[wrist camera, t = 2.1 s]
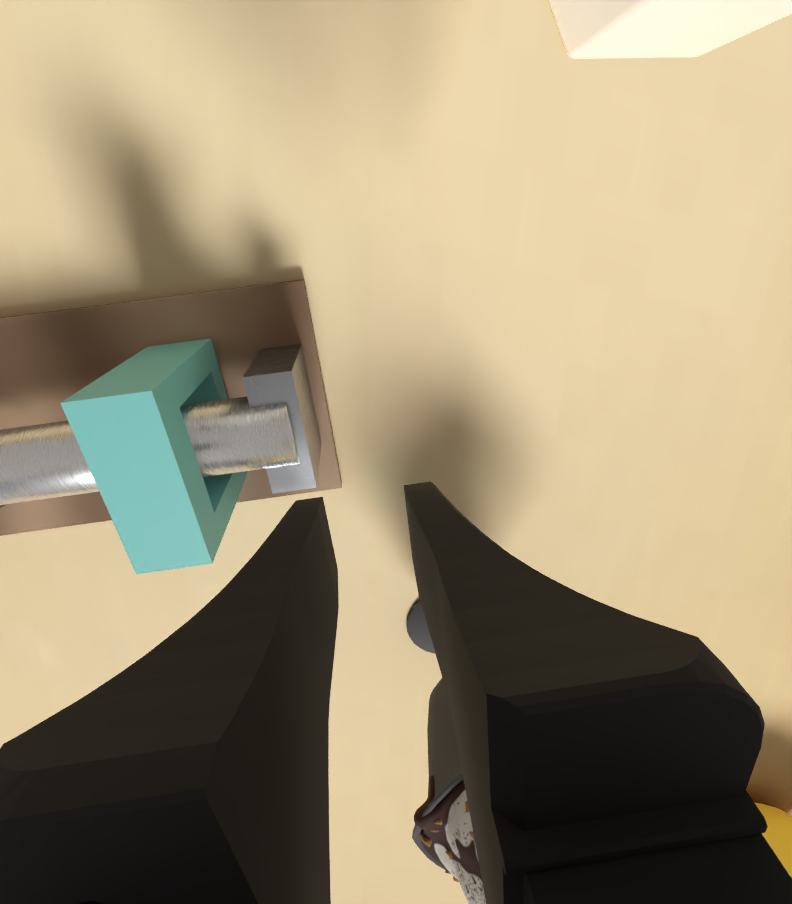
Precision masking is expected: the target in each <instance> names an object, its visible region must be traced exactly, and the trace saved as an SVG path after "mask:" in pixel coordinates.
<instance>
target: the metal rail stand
mask: <svg viewBox="0 0 792 904" xmlns="http://www.w3.org/2000/svg"><path fill="white" fill-rule="evenodd" d="M242 378H243V382H244V386H245V390H246V394H247V396H246V397H239V398H231V399H224V400H217V401H209V402H202V403H194V404H187V405H181V406H180V410H181V413H182V416H183V419H184V422H185V425H186V428H187V431H188V434H189V437H190V440H191V443H192V446H193V449H194V452H195V455H196V458H197V462H198V465H199V468H200V471H201V474H202V477H207V476H215V475H222V474H229V473H236V472H243V471H251V470H258V469H265V468H266V470H267V474H268V478H269V482H270V486H271V490H272V493H273V494H274V493H281V492H288V491H295V490H303V489H310V488H316V487H317V479H318V470H319V462H320V454H321V445H322V443H321V438H320V433H319V428H318V423H317V418H316V413H315V408H314V403H313V397H312V392H311V387H310V382H309V377H308V372H307V367H306V362H305V357H304V352H303V347H302V344H294V345H286V346H279V347H271V348H263V349H261V350H260V351H259V353H258V354H257V356H256V357H255V359H254V360H253V362H252V363H251V365H250V366H249V368H248V370H247V371H246V373H245V374H244V376H243V377H242ZM92 492H99V489H98V487H97V485H96V482H95V480H94V478H93V476H92V473H91V471H90V469H89V467H88V464H87V462H86V460H85V458H84V455H83V453H82V451H81V449H80V446H79V444H78V442H77V440H76V437H75V435H74V433H73V431H72V428H71V426H70V424H69V422H68V420H67V421H60V422H52V423H45V424H37V425H30V426H22V427H15V428H7V429H0V508H2V507H3V506H5V505H6V504H12V503H20V502H27V501H34V500H41V499H49V498H56V497H63V496H70V495H77V494H85V493H92Z"/></svg>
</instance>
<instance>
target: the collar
mask: <svg viewBox="0 0 792 904" xmlns="http://www.w3.org/2000/svg"><path fill="white" fill-rule="evenodd" d="M224 399H228V397H227V394H226V390H225V387H224V383H223V380H222V376H221V372H220V369H219V365H218V362H217V358H216V354H215V351H214V347H213V344H212V340H211V338H210V339H203V340H195V341H187V342H180V343H172V344H164V345H157V346H149V347H146V348H145V349H143V350H142V351H140V352H138V353H137V354H135V355H134V356H132V357H131V358H129V359H128V360H126V361H124V362H123V363H121V364H120V365H118V366H117V367H115V368H114V369H112V370H110V371H109V372H107V373H106V374H104V375H103V376H101V377H100V378H98V379H97V380H95V381H93V382H92V383H90V384H89V385H87V386H86V387H84V388H83V389H81V390H79V391H78V392H76V393H75V394H73V395H72V396H70V397H69V398H67V399H65V400H64V401H62V402H61V403H60V404H61V406H62V408H63V410H64V413H65V415H66V417H67V419H68V422H69V424H70V426H71V428H72V431H73V433H74V435H75V437H76V440H77V442H78V444H79V446H80V449H81V451H82V453H83V455H84V458H85V460H86V462H87V464H88V467H89V469H90V471H91V473H92V476H93V478H94V480H95V482H96V485H97V487H98V489H99V491H100V494H101V496H102V498H103V500H104V503H105V505H106V507H107V509H108V512H109V514H110V516H111V518H112V521H113V523H114V525H115V527H116V530H117V532H118V534H119V536H120V539H121V541H122V543H123V545H124V548H125V550H126V552H127V554H128V557H129V559H130V561H131V563H132V566H133V568H134V570H135V572H136V574H141V573H148V572H155V571H162V570H169V569H176V568H183V567H190V566H197V565H204V564H211V563H213V560H214V557H215V555H216V552H217V550H218V547H219V545H220V542H221V540H222V537H223V535H224V532H225V530H226V527H227V524H228V522H229V519H230V517H231V514H232V512H233V509H234V507H235V504H236V502H237V499H238V497H239V494H240V491H241V489H242V486H243V484H244V481H245V479H246V476H247V474H248V471H243V472H236V473H229V474H222V475H215V476H207V477H202V474H201V471H200V468H199V465H198V462H197V458H196V455H195V452H194V449H193V446H192V443H191V440H190V437H189V434H188V431H187V428H186V425H185V422H184V419H183V416H182V413H181V410H180V406H181V405H187V404H194V403H202V402H209V401H217V400H224Z"/></svg>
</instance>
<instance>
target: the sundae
mask: <svg viewBox="0 0 792 904" xmlns="http://www.w3.org/2000/svg"><path fill="white" fill-rule="evenodd" d="M407 632H408V634H409V636H410V638H411V639H412V641H413V642H414V644H416V645H417V646H418V647H420V648H421V649H423V650H425V651H427V652H431V653H435V649H434V646H433V643H432V639H431V636H430V632H429V629H428V625H427V622H426V618H425V615H424V611H423V608H422V604H421V601H418V602H417V603H416V604H415V605H414V607H413V608H412V610H411V612H410V614H409V616H408V618H407ZM435 654H436V653H435ZM428 763H429V787H428V798H427V800H426V801H425V803H424V804H423V805H422V806H421V807H419V808H418V809H417V811H416V812H415V815H414V821H415V827H414V830H413V835H412V838H413V840H414V842H415V843H416V844H417V846H418V847H419V848H420V850H421V851H422V852H423V853H424V854H425V855H426V856H427V857H428V858H429V859H430V860H431V861H433V862H434V863H435V864H436V865H438V866H440V867H441V868H443V869H445V870H446V871H445V872H446V873H449V874H452V875H453V879H454V881H457V882H460V885H461V888H462V890H463V892H464V894H465V896H466V898H467V900H468V902H469V904H486V900H485V894H484V889H483V883H482V878H481V872H480V866H479V861H478V856H477V850H476V845H475V839H474V834H473V828H472V823H471V817H470V812H469V806H468V801H467V796H466V790H465V785H464V780H463V774H462V769H461V764H460V758H459V753H458V748H457V742H456V737H455V732H454V727H453V721H452V716H451V711H450V706H449V701H448V697H447V693H446V689H445V684H444V680H443V678H442V679H441V680H440V681H439V683H438V684H437V685H436V687H435V688H434V689H433V691H432V693H431V695H430V700H429V714H428Z"/></svg>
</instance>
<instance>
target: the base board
mask: <svg viewBox="0 0 792 904" xmlns="http://www.w3.org/2000/svg"><path fill="white" fill-rule="evenodd" d="M210 338H211V340H212V344H213V347H214V351H215V354H216V358H217V362H218V365H219V369H220V372H221V376H222V380H223V383H224V387H225V390H226V394H227V397H228V399H231V398H239V397H246V396H247V394H246V390H245V386H244V382H243V378H242V377H243V376H244V374H245V373H246V371H247V370H248V368H249V366H250V365H251V363H252V362H253V360H254V359H255V357H256V356H257V354H258V353H259V351H260V350H261V349H263V348H271V347H279V346H286V345H294V344H302V347H303V352H304V357H305V362H306V367H307V372H308V377H309V382H310V387H311V392H312V397H313V403H314V408H315V413H316V418H317V423H318V428H319V433H320V438H321V443H322V445H321V454H320V462H319V470H318V479H317V487H316V488H310V489H303V490H295V491H288V492H281V493H274V494H273V493H272V490H271V486H270V482H269V478H268V474H267V470H266V468H265V469H258V470H251V471H248V474H247V476H246V479H245V481H244V484H243V486H242V489H241V491H240V494H239V497H238V499H237V502H243V501H250V500H257V499H265V498H272V497H279V496H286V495H293V494H300V493H307V492H314V491H322V490H329V489H336V488H342V482H341V477H340V472H339V466H338V461H337V455H336V450H335V445H334V439H333V434H332V428H331V423H330V418H329V412H328V407H327V401H326V396H325V390H324V385H323V380H322V374H321V369H320V363H319V358H318V353H317V347H316V342H315V336H314V331H313V326H312V320H311V315H310V309H309V304H308V299H307V293H306V288H305V282H304V280H296V281H288V282H281V283H273V284H265V285H257V286H249V287H241V288H233V289H225V290H218V291H210V292H202V293H194V294H186V295H178V296H170V297H162V298H155V299H147V300H139V301H131V302H123V303H115V304H107V305H100V306H92V307H84V308H76V309H68V310H60V311H52V312H44V313H37V314H29V315H21V316H13V317H5V318H0V429H7V428H15V427H22V426H30V425H37V424H45V423H52V422H60V421H67V420H68V419H67V417H66V415H65V413H64V410H63V408H62V406H61V404H60V403H61V402H62V401H64V400H65V399H67V398H69V397H70V396H72V395H73V394H75V393H76V392H78V391H79V390H81V389H83V388H84V387H86V386H87V385H89V384H90V383H92V382H93V381H95V380H97V379H98V378H100V377H101V376H103V375H104V374H106V373H107V372H109V371H110V370H112V369H114V368H115V367H117V366H118V365H120V364H121V363H123V362H124V361H126V360H128V359H129V358H131V357H132V356H134V355H135V354H137V353H138V352H140V351H142V350H143V349H145V348H146V347H149V346H157V345H164V344H172V343H180V342H187V341H195V340H203V339H210ZM108 520H112V518H111V516H110V514H109V512H108V509H107V507H106V505H105V503H104V500H103V498H102V496H101V494H100V491H99V492H92V493H85V494H77V495H70V496H63V497H56V498H49V499H41V500H34V501H27V502H20V503H12V504H6V505H5V506H3V507H2V508H0V536H1V535H8V534H15V533H22V532H30V531H37V530H44V529H51V528H58V527H65V526H72V525H79V524H87V523H94V522H101V521H108Z"/></svg>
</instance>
